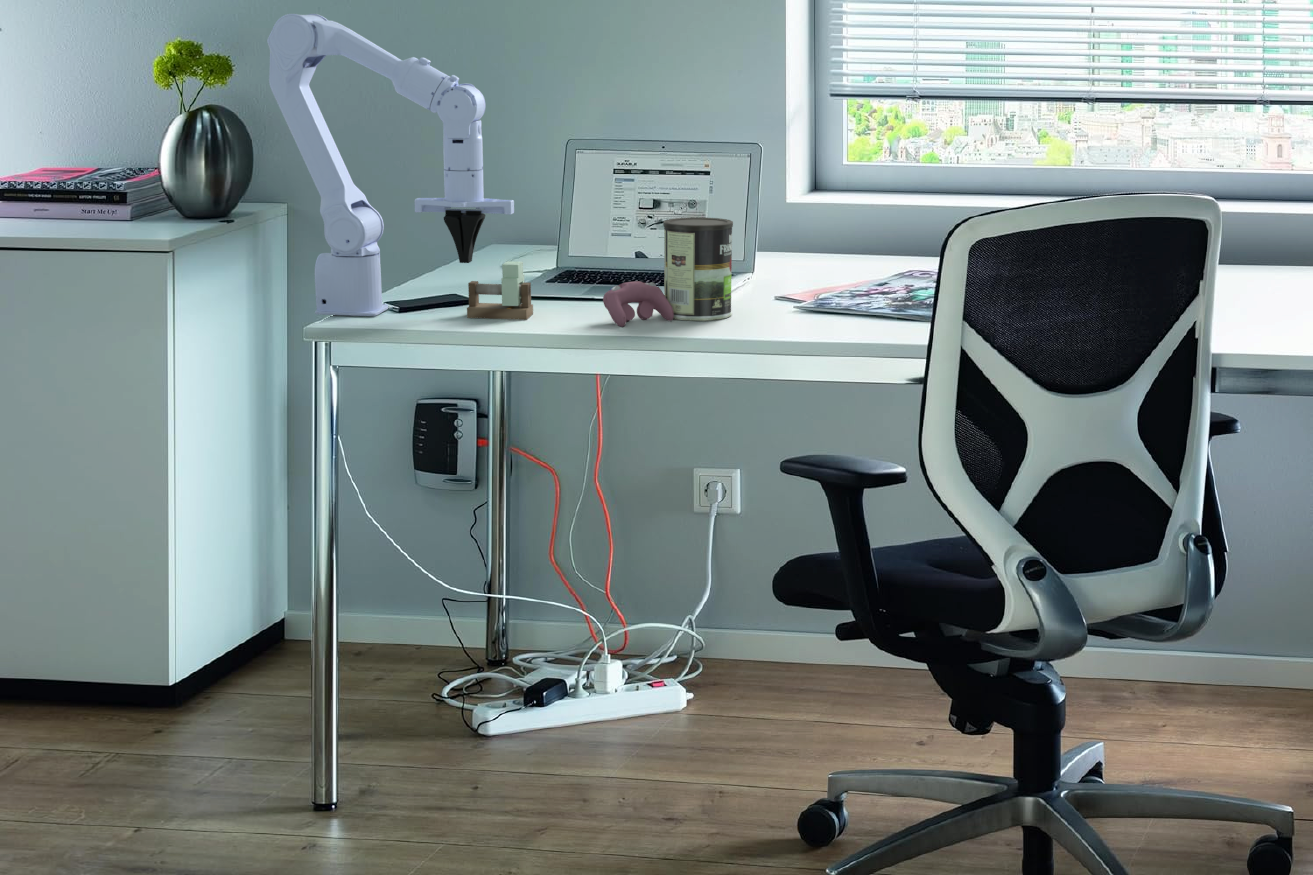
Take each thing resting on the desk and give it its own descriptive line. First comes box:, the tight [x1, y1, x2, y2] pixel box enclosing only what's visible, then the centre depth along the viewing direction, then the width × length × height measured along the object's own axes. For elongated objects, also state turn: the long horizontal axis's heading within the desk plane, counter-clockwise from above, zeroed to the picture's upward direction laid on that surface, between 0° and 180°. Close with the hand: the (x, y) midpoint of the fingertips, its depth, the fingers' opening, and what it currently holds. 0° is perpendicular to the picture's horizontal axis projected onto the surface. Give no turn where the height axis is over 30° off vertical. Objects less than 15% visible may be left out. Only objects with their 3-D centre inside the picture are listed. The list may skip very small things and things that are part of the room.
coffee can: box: [662, 216, 734, 322], centre depth 231 cm, size 10×10×14 cm
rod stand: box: [466, 280, 534, 321], centre depth 231 cm, size 9×4×5 cm, turn 82°
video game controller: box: [602, 280, 674, 328], centre depth 228 cm, size 10×5×7 cm, turn 123°
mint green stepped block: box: [500, 261, 525, 306], centre depth 230 cm, size 2×4×6 cm, turn 172°
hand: (465, 262), depth 230 cm, fingers closed
